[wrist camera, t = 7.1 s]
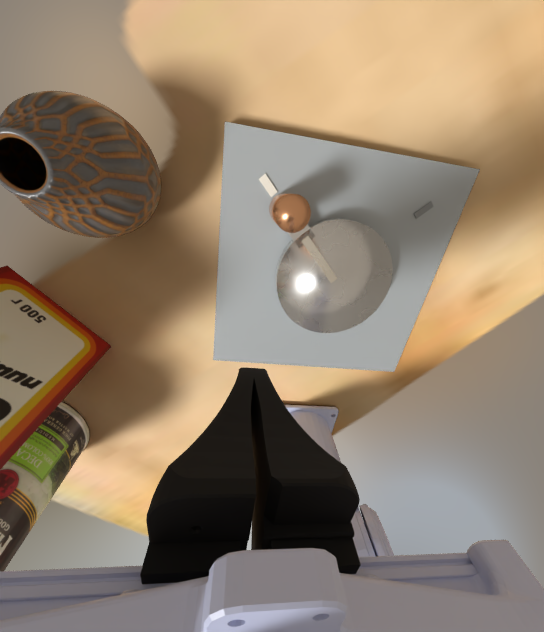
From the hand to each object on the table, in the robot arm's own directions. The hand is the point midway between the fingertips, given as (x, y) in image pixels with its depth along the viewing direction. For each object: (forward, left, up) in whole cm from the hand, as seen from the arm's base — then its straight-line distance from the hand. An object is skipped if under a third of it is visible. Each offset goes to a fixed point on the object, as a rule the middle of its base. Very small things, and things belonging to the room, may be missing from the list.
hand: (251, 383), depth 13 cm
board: (+4, -6, -10) cm, 13 cm away
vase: (+9, +10, -11) cm, 17 cm away
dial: (+5, -5, -9) cm, 11 cm away
